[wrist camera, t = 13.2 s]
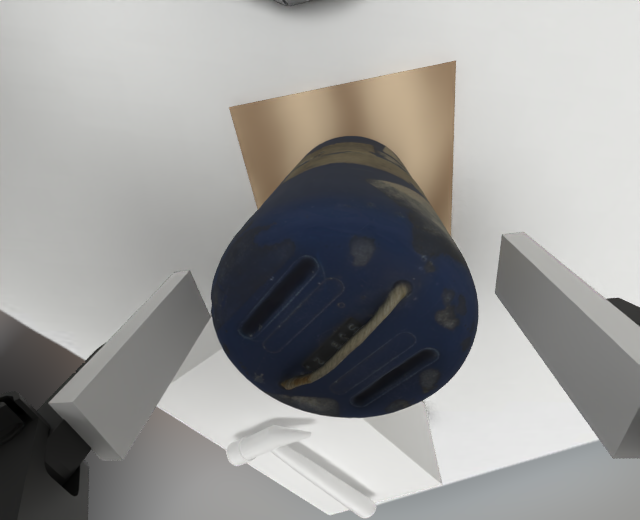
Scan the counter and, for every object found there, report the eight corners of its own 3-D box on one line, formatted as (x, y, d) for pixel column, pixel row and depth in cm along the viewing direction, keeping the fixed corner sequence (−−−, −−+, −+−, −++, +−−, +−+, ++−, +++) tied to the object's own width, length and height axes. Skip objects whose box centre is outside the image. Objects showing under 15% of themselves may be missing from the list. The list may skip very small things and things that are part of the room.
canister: (430, 208, 24) (564, 410, 9) (336, 265, 28) (312, 483, 12) (365, 103, 21) (391, 125, 6) (268, 182, 25) (118, 331, 9)
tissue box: (279, 264, 28) (242, 352, 19) (424, 403, 36) (449, 514, 27) (191, 331, 34) (129, 425, 25) (333, 439, 42) (327, 541, 33)
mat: (280, 282, 30) (279, 285, 30) (231, 107, 23) (228, 107, 22) (447, 266, 28) (449, 270, 27) (453, 61, 20) (455, 60, 20)
